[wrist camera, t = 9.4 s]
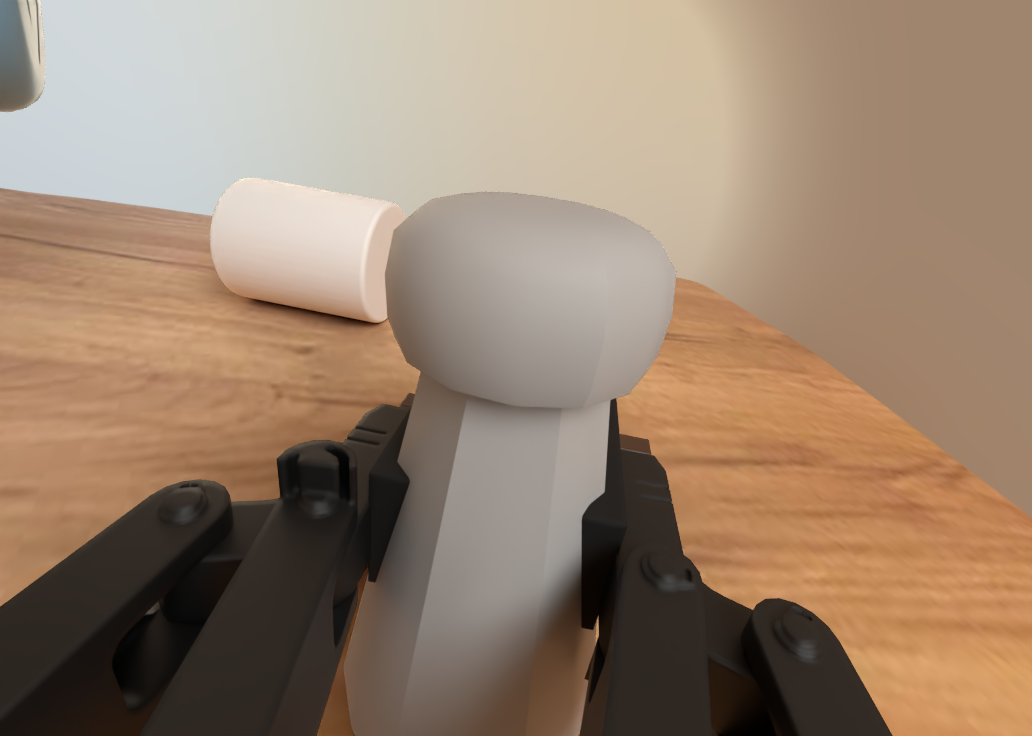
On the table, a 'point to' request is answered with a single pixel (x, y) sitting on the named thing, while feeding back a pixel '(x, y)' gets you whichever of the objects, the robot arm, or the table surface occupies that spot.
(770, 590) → the table surface
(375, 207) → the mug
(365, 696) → the salt shaker
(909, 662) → the table surface
